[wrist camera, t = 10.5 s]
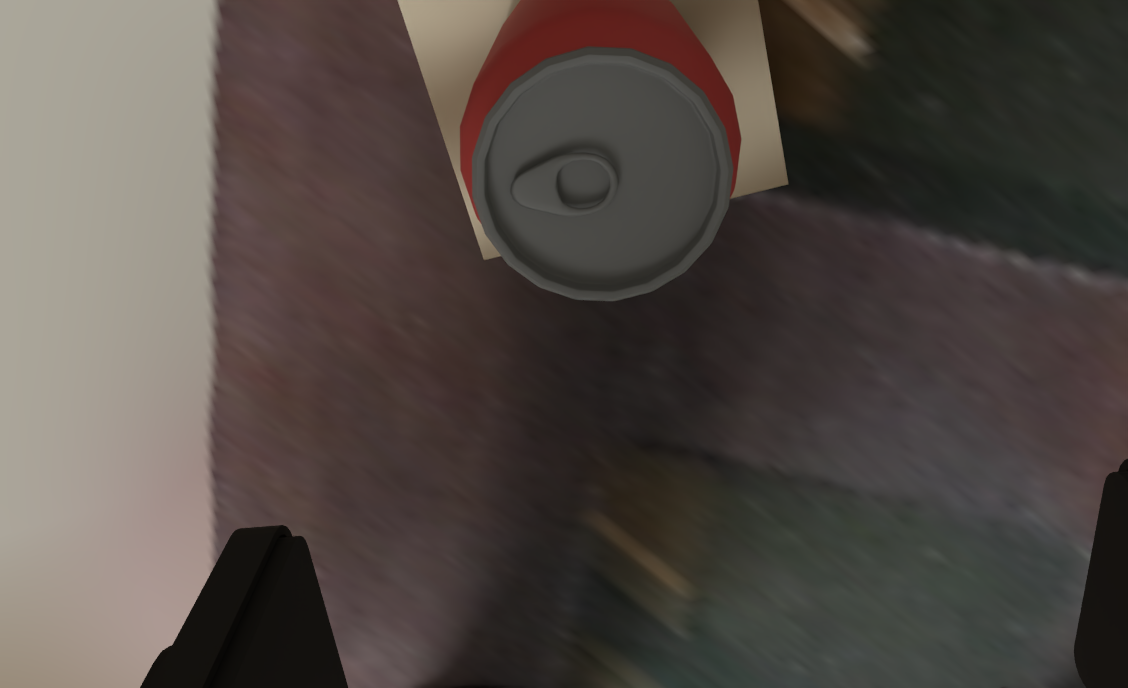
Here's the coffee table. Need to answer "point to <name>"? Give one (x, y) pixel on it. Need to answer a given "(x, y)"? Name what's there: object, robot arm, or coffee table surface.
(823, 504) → the coffee table surface
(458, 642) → the coffee table surface
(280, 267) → the coffee table surface
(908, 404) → the coffee table surface
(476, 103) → the beer can
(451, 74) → the birch block
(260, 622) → the robot arm
